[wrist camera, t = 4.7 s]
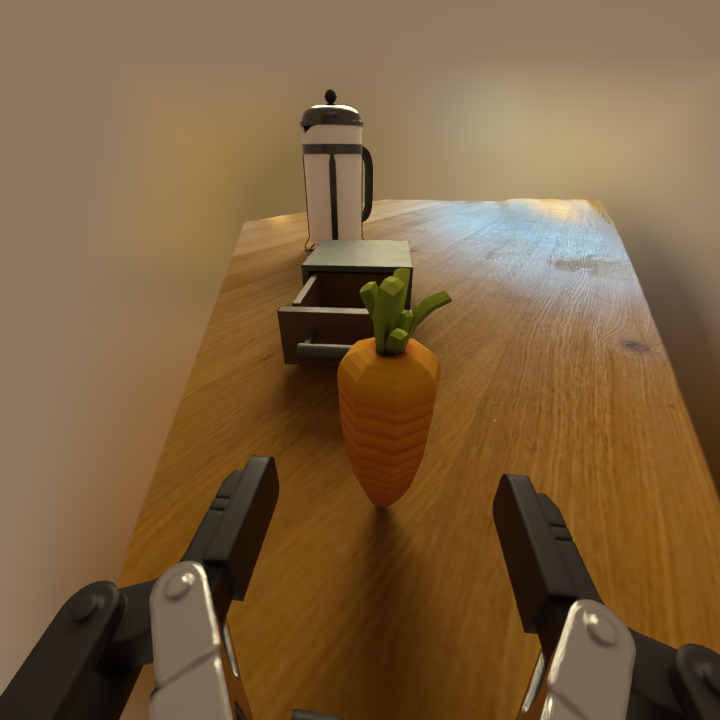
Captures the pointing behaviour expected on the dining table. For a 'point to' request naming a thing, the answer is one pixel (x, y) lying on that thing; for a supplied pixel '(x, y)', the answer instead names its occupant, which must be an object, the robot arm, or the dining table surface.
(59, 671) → the robot arm
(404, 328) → the carrot
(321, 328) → the drawer
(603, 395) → the dining table surface
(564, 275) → the dining table surface
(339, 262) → the cabinet
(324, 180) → the coffee press
